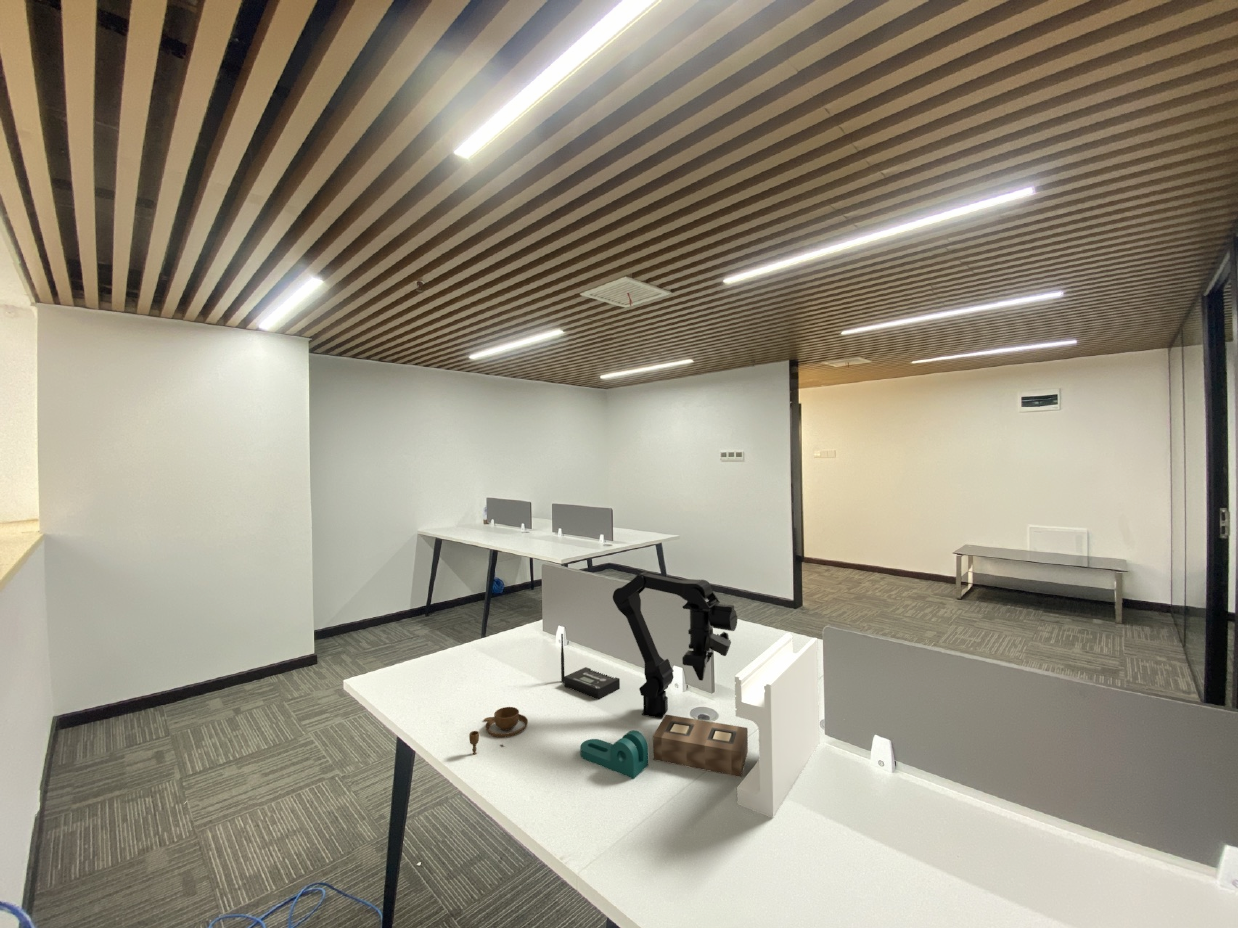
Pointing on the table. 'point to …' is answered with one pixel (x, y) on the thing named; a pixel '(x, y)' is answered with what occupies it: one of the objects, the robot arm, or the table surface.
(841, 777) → the table surface
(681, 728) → the peg
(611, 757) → the bracket
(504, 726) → the place setting
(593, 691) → the wireless controller
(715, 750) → the band block
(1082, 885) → the table surface
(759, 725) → the block
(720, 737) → the peg
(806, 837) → the table surface
